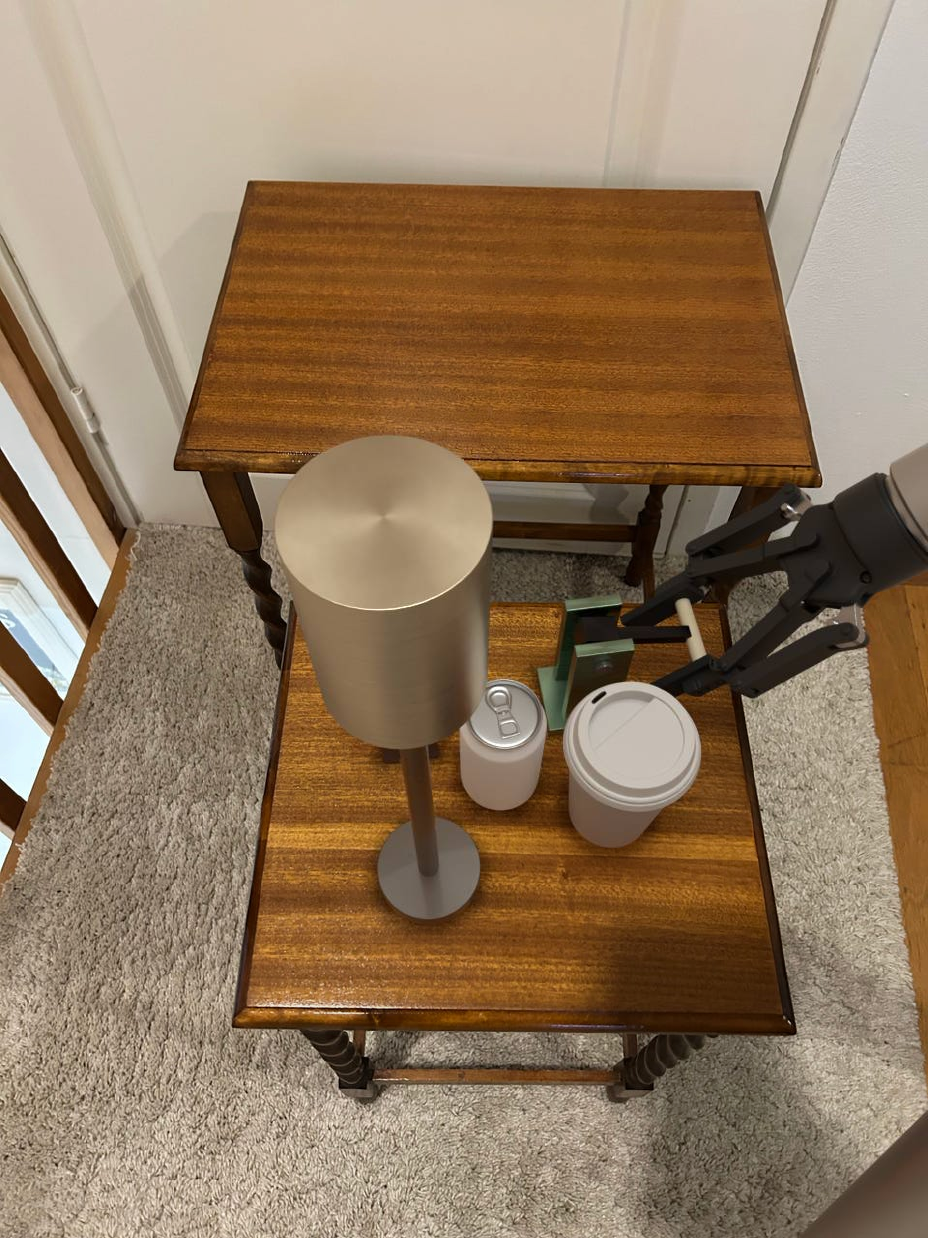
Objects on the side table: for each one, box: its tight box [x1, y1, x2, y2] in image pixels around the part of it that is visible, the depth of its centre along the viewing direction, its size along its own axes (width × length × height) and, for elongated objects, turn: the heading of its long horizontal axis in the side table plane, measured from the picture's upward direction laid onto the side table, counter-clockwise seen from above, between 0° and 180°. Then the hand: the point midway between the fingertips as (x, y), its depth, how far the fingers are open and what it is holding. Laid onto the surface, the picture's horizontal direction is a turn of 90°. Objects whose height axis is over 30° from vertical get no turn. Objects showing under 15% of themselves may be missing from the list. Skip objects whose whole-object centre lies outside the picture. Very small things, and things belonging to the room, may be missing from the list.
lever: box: [573, 598, 707, 662], centre depth 73 cm, size 10×6×2 cm, turn 98°
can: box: [459, 678, 547, 811], centre depth 73 cm, size 6×6×12 cm
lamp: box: [273, 434, 494, 927], centre depth 54 cm, size 8×8×46 cm
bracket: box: [535, 593, 636, 737], centre depth 76 cm, size 7×6×13 cm
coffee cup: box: [562, 681, 702, 849], centre depth 70 cm, size 10×10×15 cm
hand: (640, 660), depth 76 cm, fingers closed on lever, 6 cm apart
